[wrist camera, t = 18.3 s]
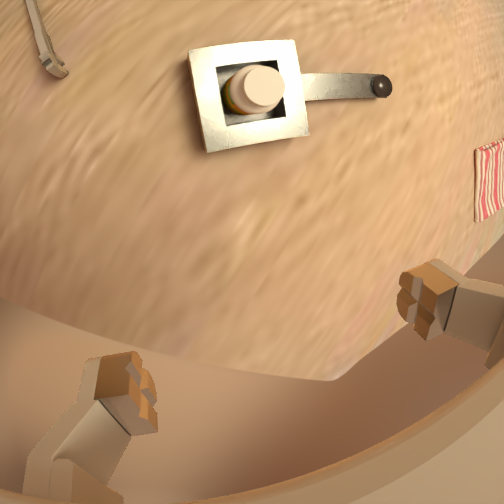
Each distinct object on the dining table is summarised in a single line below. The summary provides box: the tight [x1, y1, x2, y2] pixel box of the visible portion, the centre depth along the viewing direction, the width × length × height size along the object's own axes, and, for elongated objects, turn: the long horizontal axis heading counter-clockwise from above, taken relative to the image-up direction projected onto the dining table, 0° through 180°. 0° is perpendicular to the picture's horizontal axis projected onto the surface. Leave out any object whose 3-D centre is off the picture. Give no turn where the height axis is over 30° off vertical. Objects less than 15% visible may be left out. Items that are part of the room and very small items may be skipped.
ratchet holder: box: [187, 40, 392, 153], centre depth 32 cm, size 27×12×4 cm, turn 99°
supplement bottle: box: [221, 65, 285, 115], centre depth 28 cm, size 5×5×10 cm
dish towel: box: [474, 139, 504, 222], centre depth 48 cm, size 17×23×4 cm
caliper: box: [26, 0, 69, 78], centre depth 19 cm, size 20×1×6 cm, turn 26°
